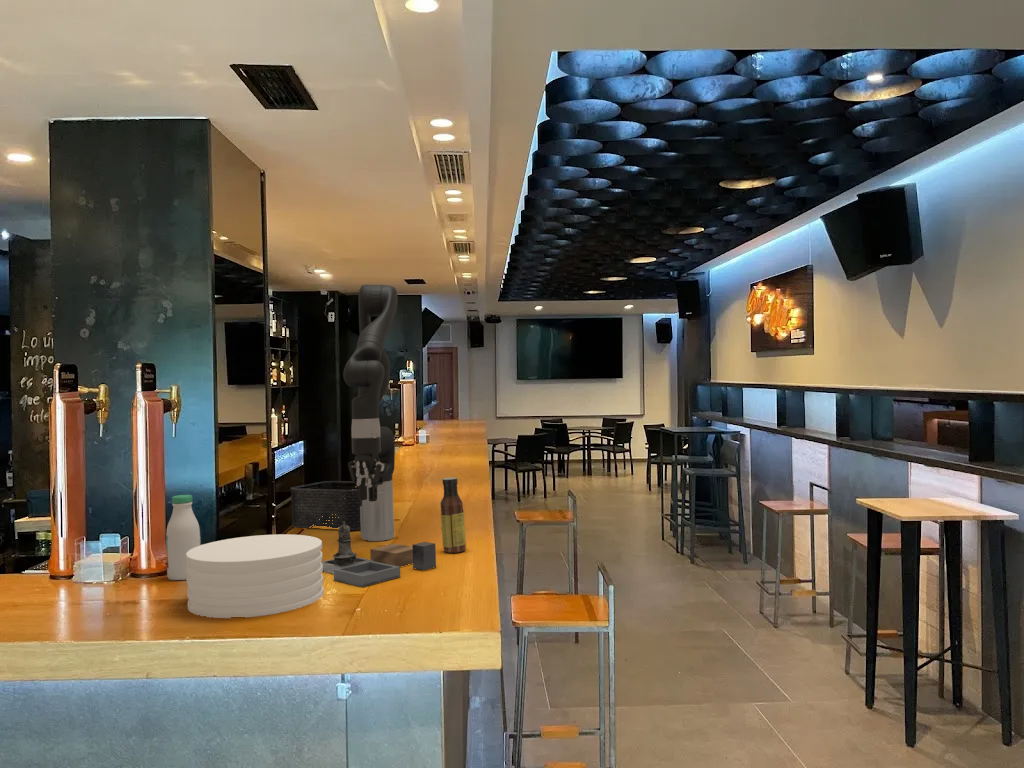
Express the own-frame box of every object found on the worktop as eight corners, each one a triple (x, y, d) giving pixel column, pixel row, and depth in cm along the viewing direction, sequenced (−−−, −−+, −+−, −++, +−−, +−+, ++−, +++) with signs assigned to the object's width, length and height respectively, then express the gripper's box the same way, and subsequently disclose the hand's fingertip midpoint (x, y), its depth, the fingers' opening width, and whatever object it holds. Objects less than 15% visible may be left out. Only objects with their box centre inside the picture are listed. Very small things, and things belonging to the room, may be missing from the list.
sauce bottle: (467, 548, 216) (465, 476, 216) (464, 553, 210) (461, 479, 210) (444, 548, 217) (441, 476, 216) (439, 553, 210) (437, 479, 210)
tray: (333, 580, 185) (333, 569, 185) (371, 570, 193) (370, 560, 193) (363, 587, 178) (362, 576, 178) (400, 577, 186) (400, 566, 186)
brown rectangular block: (370, 564, 202) (370, 549, 202) (394, 558, 208) (393, 543, 208) (397, 569, 195) (396, 553, 195) (420, 563, 201) (420, 547, 201)
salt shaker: (361, 567, 198) (360, 519, 198) (349, 572, 192) (348, 523, 192) (341, 566, 200) (339, 518, 200) (328, 571, 194) (327, 522, 194)
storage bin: (287, 527, 259) (286, 486, 259) (326, 517, 276) (325, 479, 276) (356, 532, 246) (354, 490, 246) (393, 522, 263) (391, 482, 263)
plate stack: (349, 595, 171) (347, 543, 171) (227, 627, 151) (225, 568, 151) (280, 577, 190) (279, 529, 190) (164, 603, 170) (163, 550, 170)
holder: (318, 570, 195) (317, 562, 195) (349, 563, 203) (348, 555, 203) (341, 575, 189) (341, 567, 189) (372, 567, 196) (372, 560, 196)
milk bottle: (208, 574, 194) (205, 493, 194) (183, 582, 187) (180, 498, 187) (185, 572, 198) (183, 493, 198) (160, 579, 191) (157, 497, 191)
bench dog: (413, 568, 194) (412, 544, 194) (425, 565, 197) (424, 541, 197) (424, 570, 191) (423, 546, 191) (436, 567, 194) (435, 543, 194)
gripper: (338, 436, 210) (340, 500, 210) (371, 437, 201) (373, 504, 201) (360, 434, 216) (362, 496, 216) (394, 435, 207) (396, 500, 207)
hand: (368, 500), depth 208 cm, fingers open, 3 cm apart
